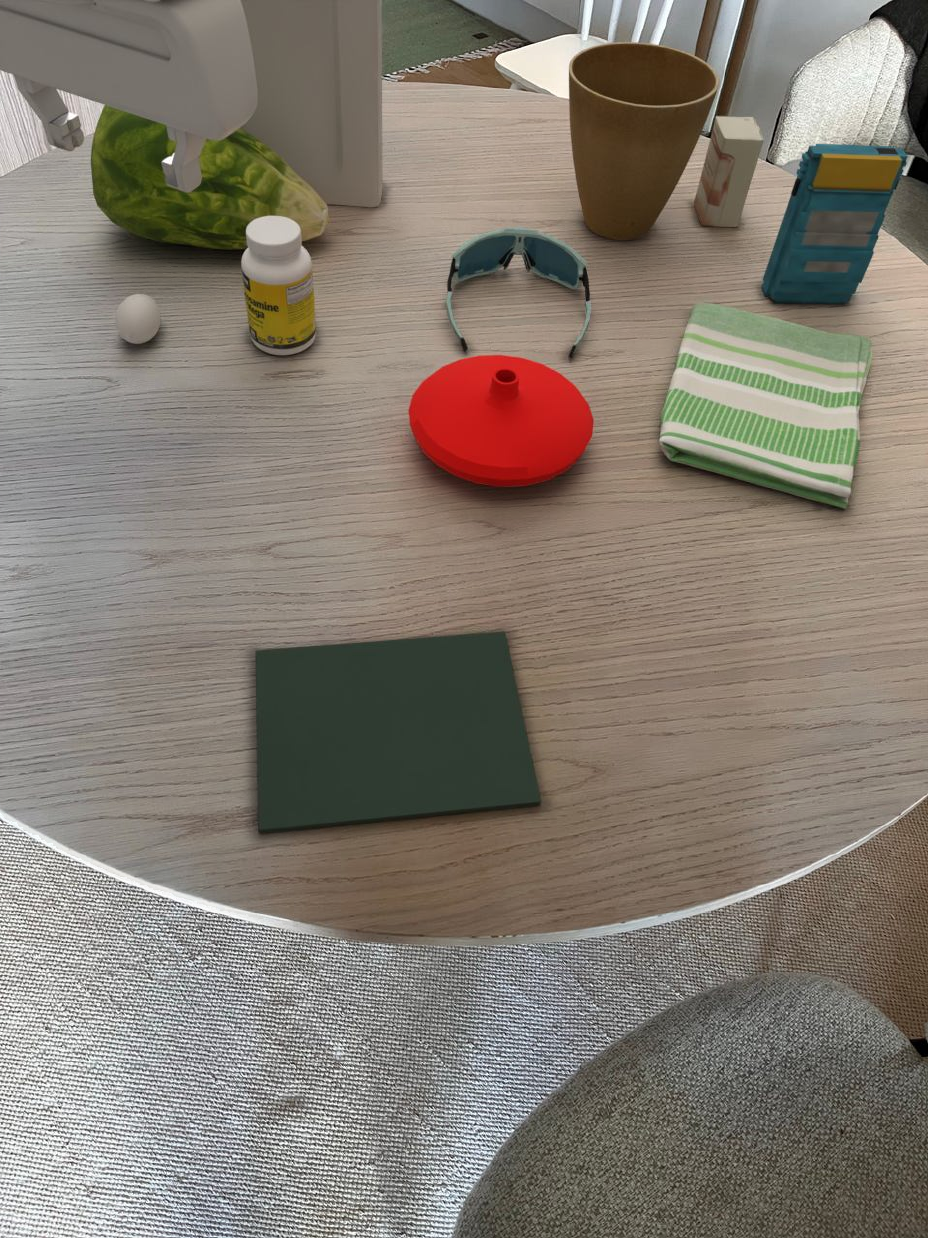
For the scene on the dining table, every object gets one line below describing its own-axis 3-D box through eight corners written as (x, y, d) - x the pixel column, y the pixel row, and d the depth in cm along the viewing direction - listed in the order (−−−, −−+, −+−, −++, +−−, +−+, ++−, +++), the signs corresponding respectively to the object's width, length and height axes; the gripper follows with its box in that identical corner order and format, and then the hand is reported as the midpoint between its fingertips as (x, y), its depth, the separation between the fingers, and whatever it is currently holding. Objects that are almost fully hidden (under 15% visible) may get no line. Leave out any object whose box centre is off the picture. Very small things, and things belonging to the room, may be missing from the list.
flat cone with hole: (465, 363, 92) (470, 297, 87) (617, 426, 88) (633, 361, 82) (372, 458, 83) (371, 391, 78) (536, 533, 79) (547, 468, 73)
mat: (259, 834, 61) (258, 830, 61) (256, 654, 70) (255, 650, 70) (540, 805, 64) (541, 801, 63) (504, 635, 72) (505, 631, 72)
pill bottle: (236, 336, 93) (220, 227, 84) (287, 310, 96) (276, 202, 87) (280, 366, 90) (268, 257, 81) (330, 339, 93) (324, 230, 85)
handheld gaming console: (845, 285, 104) (903, 144, 92) (857, 308, 102) (918, 166, 90) (756, 283, 103) (803, 141, 92) (765, 306, 101) (815, 163, 89)
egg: (171, 319, 94) (163, 283, 91) (154, 357, 90) (146, 321, 87) (131, 315, 94) (122, 279, 91) (112, 354, 90) (103, 317, 87)
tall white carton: (390, 143, 118) (391, -144, 96) (379, 207, 108) (377, -94, 86) (230, 130, 117) (194, -161, 95) (205, 194, 108) (159, -113, 86)
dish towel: (868, 356, 97) (879, 333, 94) (851, 516, 82) (863, 492, 80) (690, 314, 99) (696, 290, 97) (644, 461, 85) (650, 437, 83)
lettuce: (307, 315, 102) (322, 211, 91) (79, 248, 99) (66, 132, 88) (334, 227, 110) (352, 120, 98) (122, 162, 106) (116, 44, 95)
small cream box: (692, 203, 113) (714, 113, 105) (729, 204, 113) (754, 115, 105) (700, 227, 110) (724, 136, 102) (738, 228, 110) (765, 138, 102)
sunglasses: (583, 271, 103) (591, 230, 98) (588, 375, 95) (597, 336, 91) (448, 262, 102) (450, 220, 98) (442, 366, 95) (444, 326, 90)
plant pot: (670, 191, 114) (704, 43, 102) (692, 262, 105) (733, 109, 93) (543, 185, 114) (562, 35, 101) (554, 256, 104) (577, 101, 92)
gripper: (-128, -113, 53) (-34, 142, 64) (179, -27, 47) (224, 235, 59) (-40, -145, 56) (35, 102, 67) (256, -67, 51) (284, 187, 62)
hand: (125, 165), depth 63 cm, fingers open, 8 cm apart
